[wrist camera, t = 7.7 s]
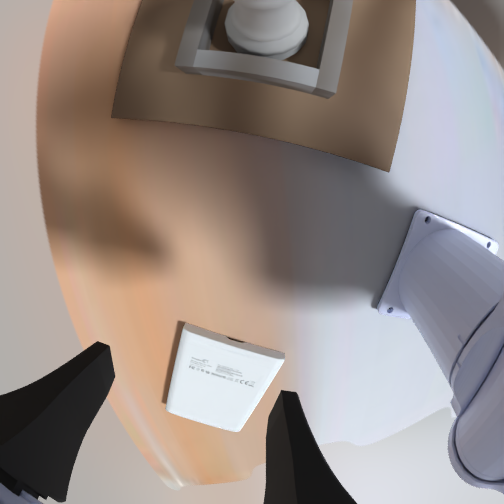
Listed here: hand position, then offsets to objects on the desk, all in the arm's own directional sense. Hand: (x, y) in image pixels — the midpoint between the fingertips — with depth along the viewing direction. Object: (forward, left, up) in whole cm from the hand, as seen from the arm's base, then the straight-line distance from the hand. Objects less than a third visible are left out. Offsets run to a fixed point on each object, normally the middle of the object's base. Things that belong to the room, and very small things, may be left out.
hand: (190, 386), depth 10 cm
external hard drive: (-1, +11, -10) cm, 15 cm away
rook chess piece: (+1, -16, -9) cm, 18 cm away
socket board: (+1, -17, -9) cm, 19 cm away
